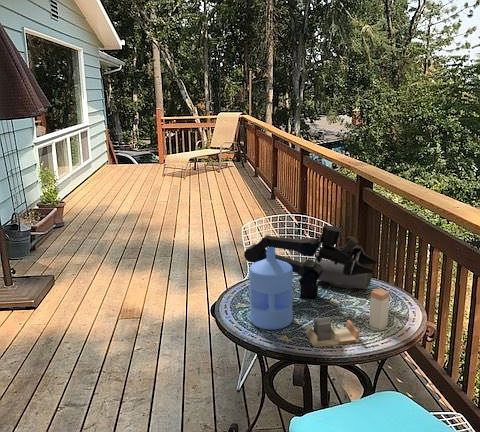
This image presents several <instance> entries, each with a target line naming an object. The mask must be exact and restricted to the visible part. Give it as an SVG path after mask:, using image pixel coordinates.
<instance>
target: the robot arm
mask: <svg viewBox="0 0 480 432" xmlns="http://www.w3.org/2000/svg"><path fill="white" fill-rule="evenodd" d="M321 230H322V231H321V235H320V237H317V238H314V237H305V238H304V237H303V238H300V239H295V238H288V237H279V236H273V235H269V234H266V235H264V237H262V239H261V240H260V241H259V242H257V243H254V244H251V245H250V246H249V247H248V248H247V249H245V250H244V253H243V256H244V259H245V261H246V262H249V263H252V264H253V263H255V262H258V261H261V260H264V259H266V258H267V255H266V253H267V250H266V248H268V247H274V248H275V249H278V250H279V249H280V250H289V251H295V252H297V253H298V254H301V255H304V256H306V257H312V256H315V255H316V256H315V258H316V260H314V261H313V260H311V259H309V258H307V259H306V260H305V261H303V262H301V261H298V260H295V259H291V258H289V257H285V256H283V255H280V254H276V253H275V258H276V259H278V260H281V261H284V262H287V263H289V264H290V265H291V266H292V269H293V273H294V274H295V273H296V274H297V275H299V276H300V278H299V279H298V282H299V285H300V286H299V287H300V289H299V293H300V295H299V299H303V300H305V299H306V300H314V301H315V300H316V299H317V297H318V295H319V284H318V280H319V277H320V276H321V274H322V272H323V270H322V267H321V265H320V264H318V263H320V261H321V260H327V261H333V262H335V263H334V264H336V265H337V264H338V263H339V264H342V265H344V269H343V274H344V275H346V276H350V274H351V276H352V275H357V274H365V273H371V274H372V273H373V272H374V269H372V268H370V267H368V266H366V265H376V264H377V263H378V261H377V260H376V259H374V258H372V257H371V256H369V255H368V254H366V252H365V251H364V248H363V247H362V245H358V243H359V240H358V239H357V238H356V237H355V236H348V237H347V238H346V239H345V242H346V244H345V245H344V246H339V247H336V246H335V245H338V242H339V238H340V235H341V231H342V230H341V228H340V227H338V226H336V225H325V224H324V225H323V226H322V229H321ZM321 245H322V247H321ZM317 252H318V254H316V253H317ZM317 261H318V263H317ZM351 272H352V273H351Z"/></svg>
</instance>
